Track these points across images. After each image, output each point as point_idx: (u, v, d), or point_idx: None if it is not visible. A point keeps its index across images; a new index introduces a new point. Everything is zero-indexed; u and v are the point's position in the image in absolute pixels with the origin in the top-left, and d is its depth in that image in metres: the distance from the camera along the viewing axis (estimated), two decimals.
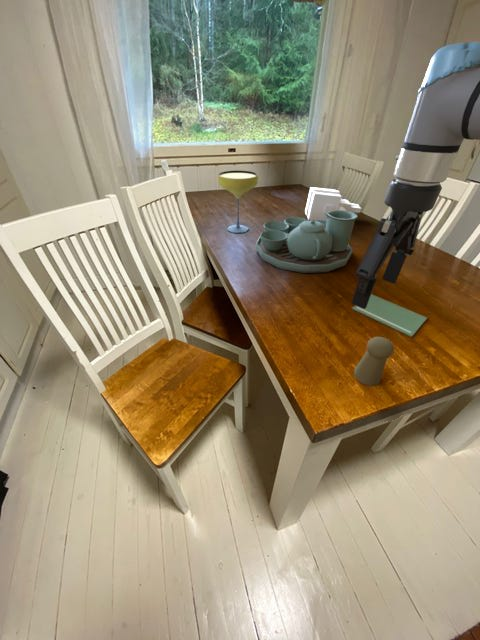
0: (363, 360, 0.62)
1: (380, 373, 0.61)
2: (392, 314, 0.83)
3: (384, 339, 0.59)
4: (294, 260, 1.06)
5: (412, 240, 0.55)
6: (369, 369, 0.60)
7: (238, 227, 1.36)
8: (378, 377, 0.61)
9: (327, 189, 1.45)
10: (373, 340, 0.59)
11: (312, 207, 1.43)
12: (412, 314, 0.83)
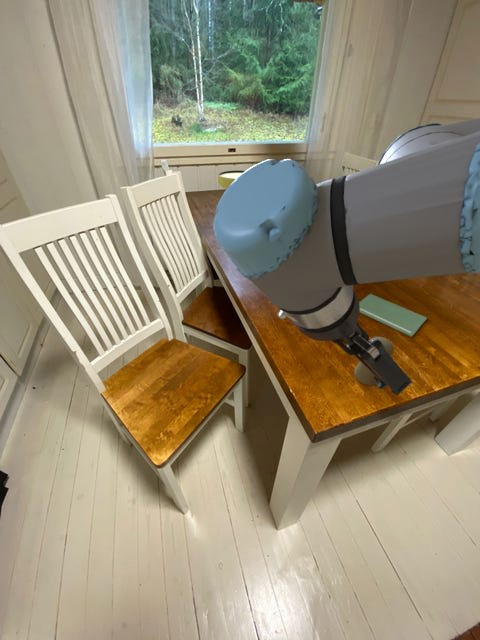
0: None
1: None
2: (392, 314, 0.83)
3: (384, 339, 0.59)
4: None
5: None
6: None
7: None
8: None
9: None
10: None
11: None
12: (412, 314, 0.83)
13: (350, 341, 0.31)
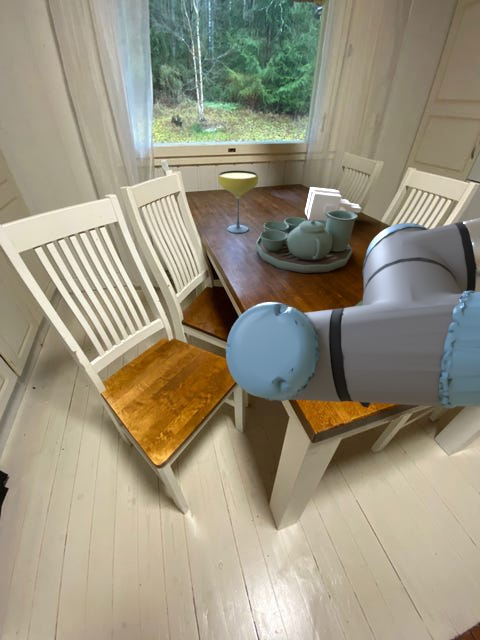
0: None
1: None
2: None
3: None
4: (294, 260, 1.06)
5: None
6: None
7: (238, 227, 1.36)
8: None
9: (327, 189, 1.45)
10: None
11: (312, 207, 1.43)
12: None
13: None
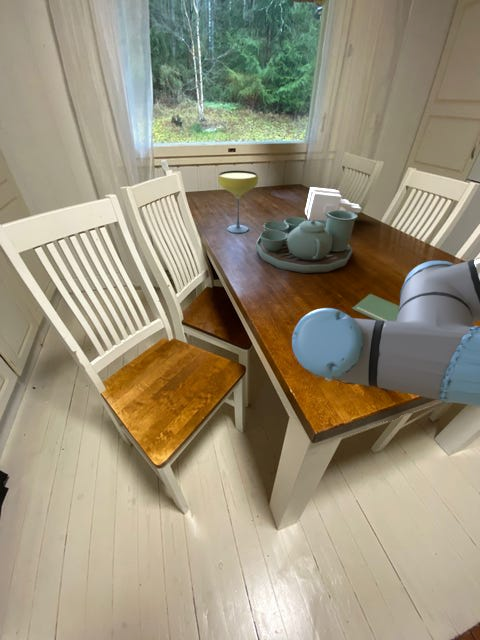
0: None
1: None
2: (392, 314, 0.83)
3: None
4: (294, 260, 1.06)
5: None
6: None
7: (238, 227, 1.36)
8: None
9: (327, 189, 1.45)
10: None
11: (312, 207, 1.43)
12: None
13: None
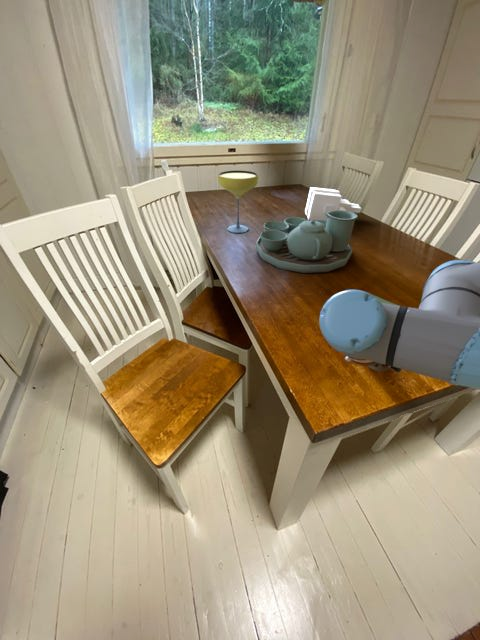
0: None
1: None
2: None
3: None
4: (294, 260, 1.06)
5: None
6: None
7: (238, 227, 1.36)
8: None
9: (327, 189, 1.45)
10: None
11: (312, 207, 1.43)
12: None
13: None
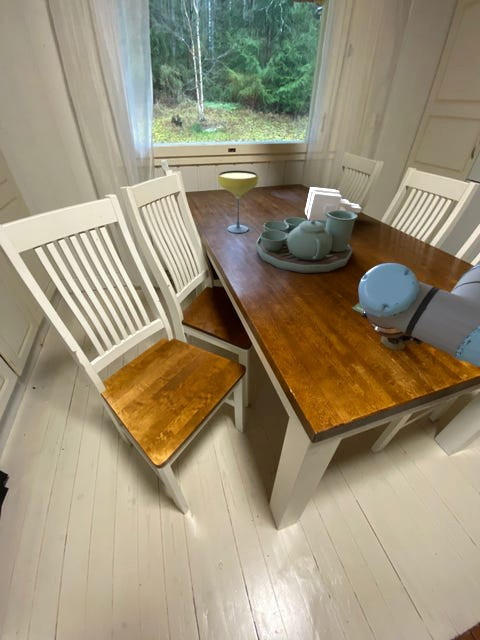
0: None
1: None
2: None
3: None
4: (294, 260, 1.06)
5: None
6: None
7: (238, 227, 1.36)
8: None
9: (327, 189, 1.45)
10: None
11: (312, 207, 1.43)
12: None
13: None
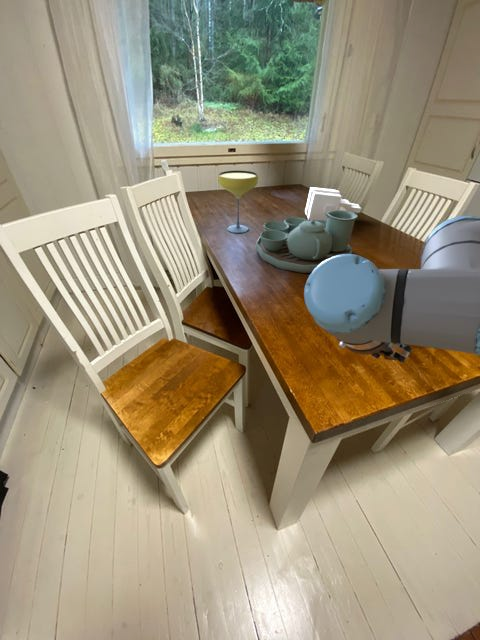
0: None
1: None
2: None
3: None
4: (294, 260, 1.06)
5: None
6: None
7: (238, 227, 1.36)
8: None
9: (327, 189, 1.45)
10: None
11: (312, 207, 1.43)
12: None
13: (389, 349, 0.40)
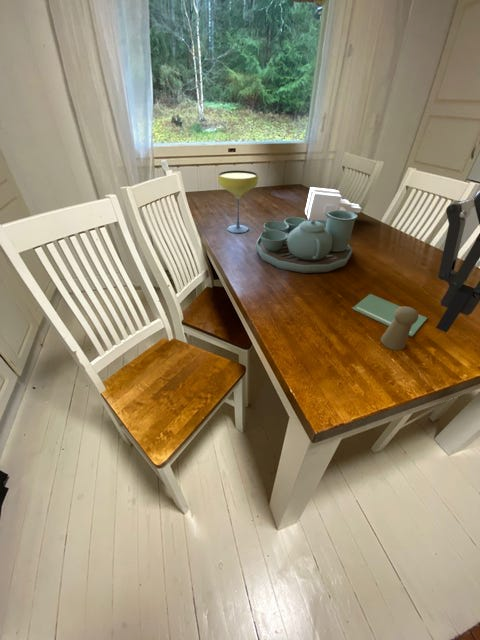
0: (390, 328, 0.71)
1: (406, 338, 0.70)
2: (392, 314, 0.83)
3: (409, 308, 0.68)
4: (294, 260, 1.06)
5: (456, 257, 0.37)
6: (396, 335, 0.69)
7: (238, 227, 1.36)
8: (404, 342, 0.70)
9: (327, 189, 1.45)
10: (400, 308, 0.68)
11: (312, 207, 1.43)
12: None
13: None
